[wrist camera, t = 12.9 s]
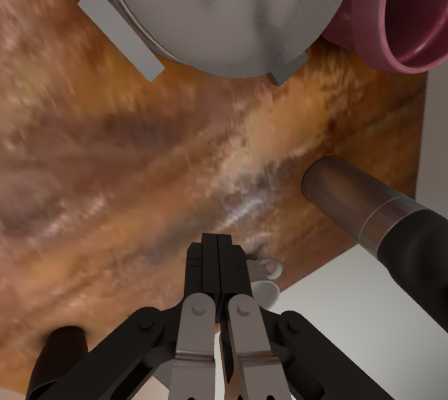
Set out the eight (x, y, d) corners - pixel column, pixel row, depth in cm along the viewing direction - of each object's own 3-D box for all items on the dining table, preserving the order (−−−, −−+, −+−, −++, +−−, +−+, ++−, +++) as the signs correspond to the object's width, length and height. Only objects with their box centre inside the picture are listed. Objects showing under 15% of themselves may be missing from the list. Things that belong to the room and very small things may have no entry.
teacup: (234, 294, 58) (249, 326, 51) (203, 278, 51) (215, 312, 45) (280, 254, 56) (301, 282, 49) (254, 232, 49) (274, 262, 43)
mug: (13, 355, 45) (-8, 420, 37) (63, 315, 44) (52, 374, 36) (56, 364, 50) (46, 423, 42) (102, 329, 49) (99, 382, 41)
